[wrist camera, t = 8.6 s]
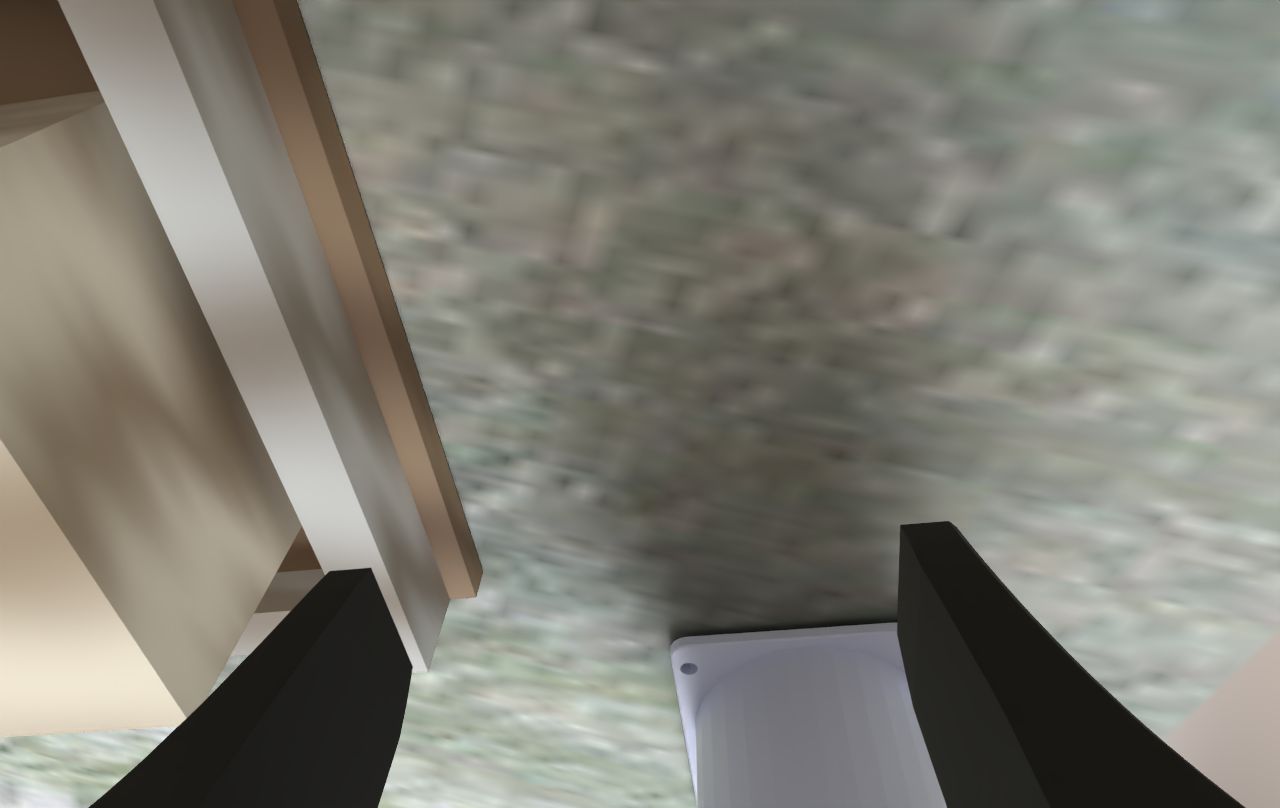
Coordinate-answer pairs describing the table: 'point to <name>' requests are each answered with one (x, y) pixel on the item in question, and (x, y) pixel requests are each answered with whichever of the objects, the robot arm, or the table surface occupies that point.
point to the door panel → (114, 447)
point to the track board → (274, 278)
